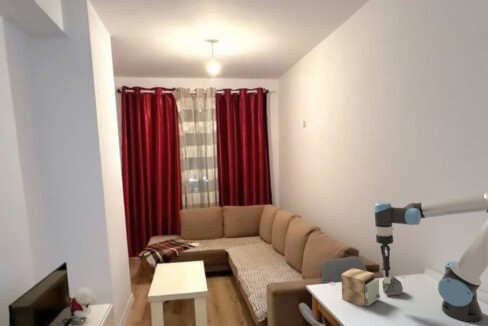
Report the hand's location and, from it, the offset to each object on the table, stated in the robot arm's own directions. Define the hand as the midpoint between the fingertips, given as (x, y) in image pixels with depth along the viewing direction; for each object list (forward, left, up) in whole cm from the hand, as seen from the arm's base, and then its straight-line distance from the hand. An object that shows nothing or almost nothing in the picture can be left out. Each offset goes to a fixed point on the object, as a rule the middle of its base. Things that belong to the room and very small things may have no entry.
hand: (387, 282), depth 149 cm
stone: (+4, -16, -12) cm, 21 cm away
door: (+6, +2, -11) cm, 13 cm away
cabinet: (+14, +2, -12) cm, 19 cm away
